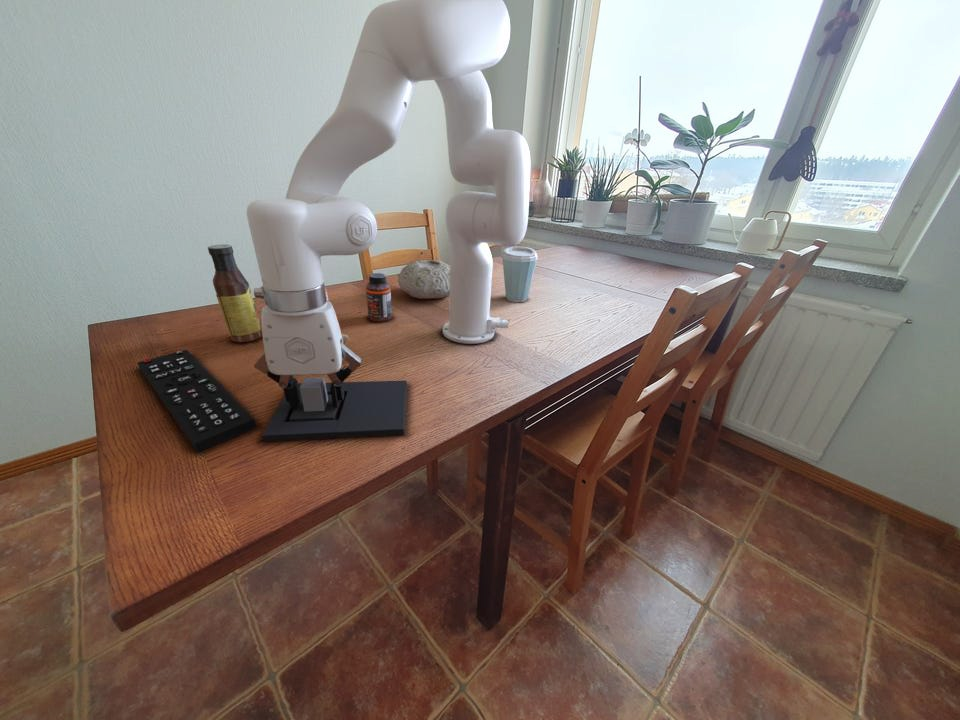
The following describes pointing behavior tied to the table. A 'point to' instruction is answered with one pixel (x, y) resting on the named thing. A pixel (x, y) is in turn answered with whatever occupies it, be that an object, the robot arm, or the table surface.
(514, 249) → the disposable coffee cup
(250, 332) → the sauce bottle
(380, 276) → the supplement bottle
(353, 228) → the robot arm
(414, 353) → the table surface
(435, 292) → the grey carved stone pot
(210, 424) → the remote control
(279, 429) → the socket pad
